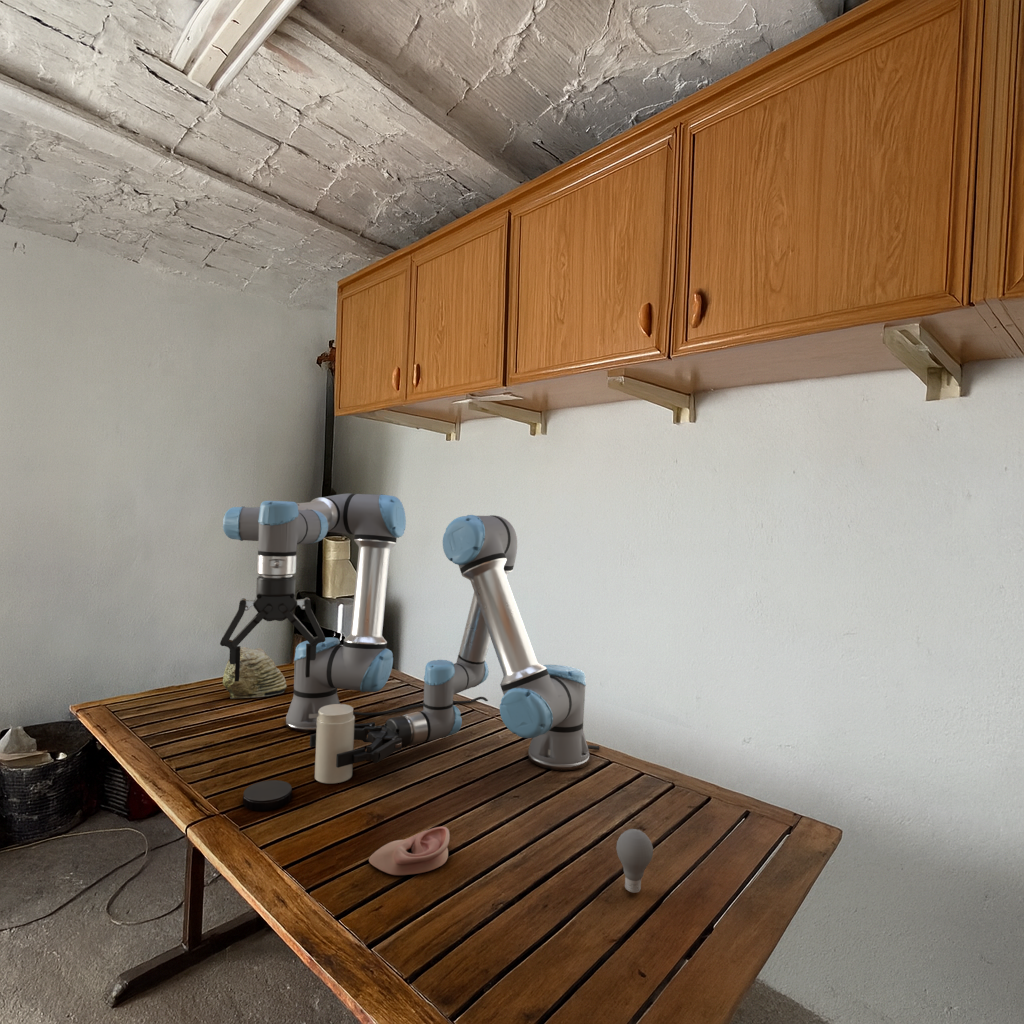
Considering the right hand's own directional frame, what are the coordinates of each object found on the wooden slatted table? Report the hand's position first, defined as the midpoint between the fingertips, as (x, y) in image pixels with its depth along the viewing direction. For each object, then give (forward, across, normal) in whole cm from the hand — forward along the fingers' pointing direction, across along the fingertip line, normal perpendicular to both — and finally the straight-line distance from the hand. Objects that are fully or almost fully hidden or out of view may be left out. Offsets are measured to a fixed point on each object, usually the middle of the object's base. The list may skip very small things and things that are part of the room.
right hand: (323, 750), depth 142 cm
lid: (+13, -3, -5) cm, 14 cm away
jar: (-3, 0, -6) cm, 7 cm away
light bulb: (-23, -69, -6) cm, 73 cm away
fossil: (-9, +67, -6) cm, 68 cm away
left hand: (+13, -2, +19) cm, 23 cm away
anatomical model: (+1, -39, -6) cm, 39 cm away
